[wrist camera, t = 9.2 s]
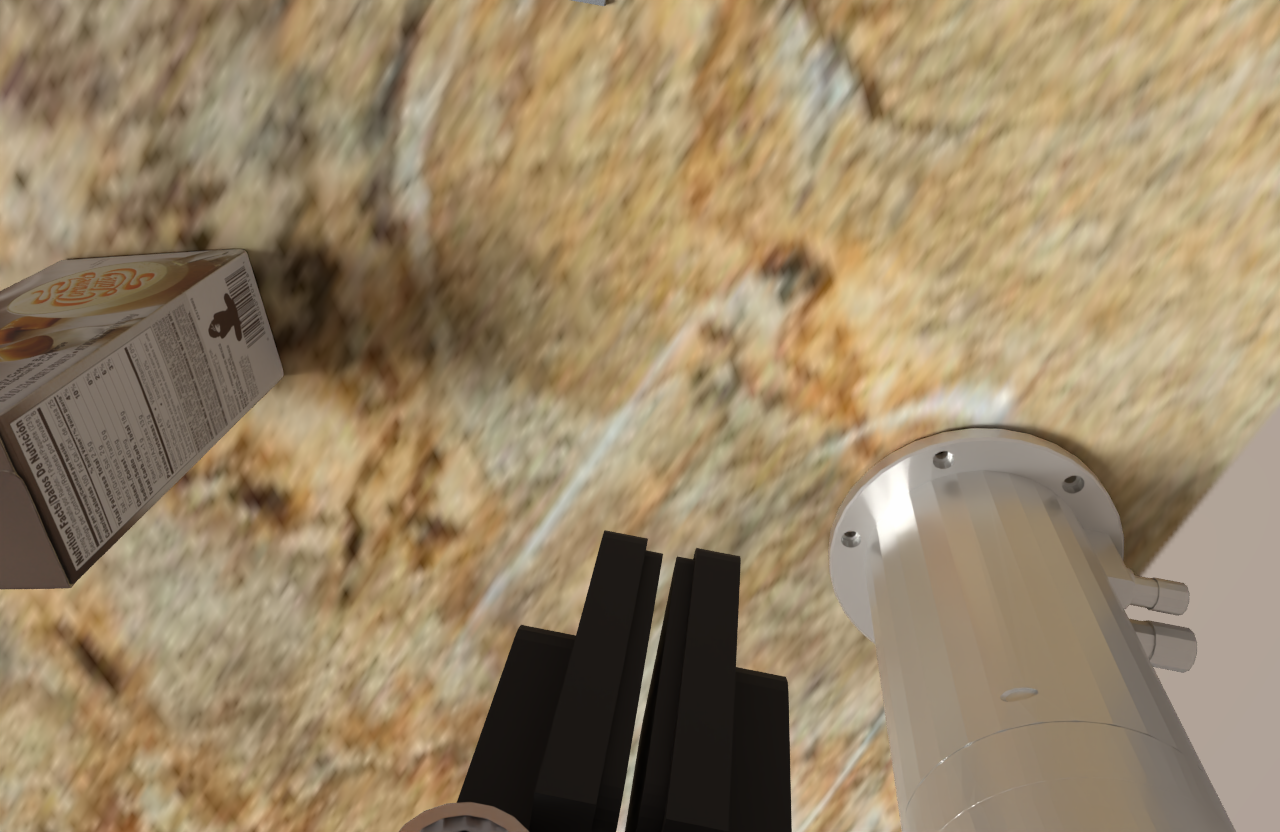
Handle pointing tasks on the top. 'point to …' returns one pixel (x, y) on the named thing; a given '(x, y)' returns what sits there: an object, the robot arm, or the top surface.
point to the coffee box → (117, 396)
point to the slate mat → (593, 2)
